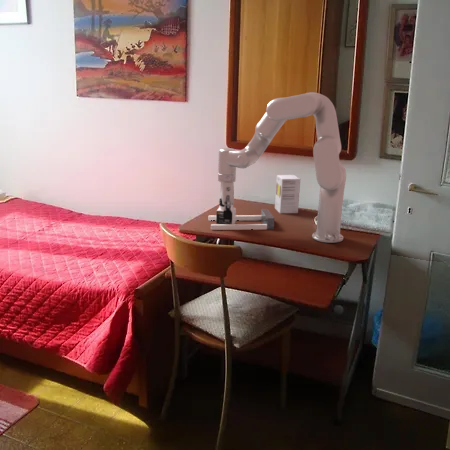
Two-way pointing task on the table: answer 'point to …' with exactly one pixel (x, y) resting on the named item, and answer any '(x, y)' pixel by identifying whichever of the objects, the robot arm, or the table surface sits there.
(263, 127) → the robot arm
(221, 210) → the medicine bottle
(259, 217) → the guide rails
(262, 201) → the table surface
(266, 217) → the end stop
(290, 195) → the supplement box
